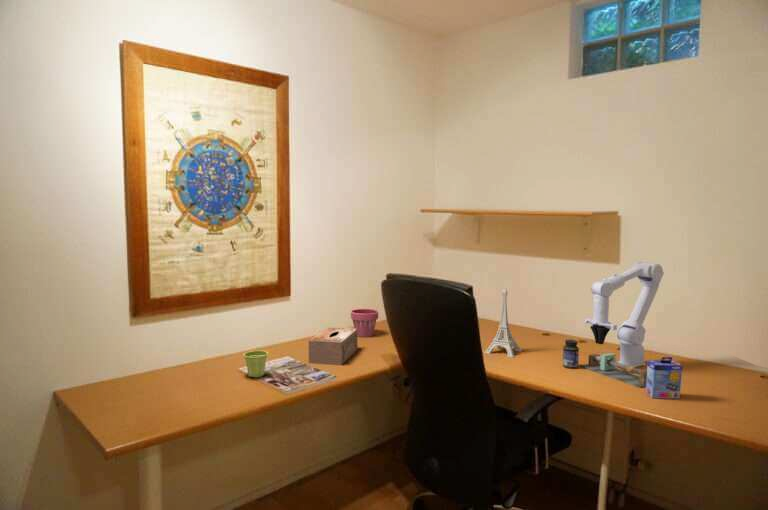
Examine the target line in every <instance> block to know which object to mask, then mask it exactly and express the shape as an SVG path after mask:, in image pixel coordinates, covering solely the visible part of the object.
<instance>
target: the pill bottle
mask: <svg viewBox="0 0 768 510" xmlns="http://www.w3.org/2000/svg"><path fill="white" fill-rule="evenodd" d="M564 343H565V345H564V346H563V347H562V348H563V349H562V350H563V351H562V366H563V367H564V368H567V369H571V370H572V369H575V370H576V369H578V368H579V357H580V356H579V354H580V351H579V349H580V348H579V347H578V341H577V340H575V339H566V340H565V341H564Z"/></svg>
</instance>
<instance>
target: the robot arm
mask: <svg viewBox="0 0 768 510" xmlns="http://www.w3.org/2000/svg"><path fill="white" fill-rule="evenodd" d="M664 272H665V271H664V270H663V267H662V265H661V264H659V263H648V262H643V261H639V262H637V263H634V264H633V266H631V267H630V268H629V269H627V270H625V271H624V272H622V273H620V274H619V273H612V274H611V275H610V276H609V277H607V278H603V279H602V280H601V281H595V282H594V283H592V285H591V287H590V291H591V292H590V293H591V294H592V299H593V313H592V314H593V316H592V318H590V317H585V318H584V323H585V324H590V327H589V328H590V330H591V332H592V334H593V336H594V337H593V338H594V340H595V344H597V345H604V343H605V339H606V337H607V336H608V334H609V332H610V330H612V331H616V337H617V339H618V342H619V343H620V348H619V360H617V361H616V360H615V362H618V363H621V364H625V365H628V366H629V365H630V366H633V367H636V368H638V367H641V366H646V365H647V364H646V363H645V352H646V351H645V347H644V345H643V344H642V343H643V342H644V341H645V334H646V332H647V330H646V328H645V327H644V326H643V324H644V322H645V320H646V317H647V316H648V312H649V310H650V308H651V306H652V304H653V301H654V300H655V299H654V298H655V297H656V294H657V292H658V290H659V286H660V283H661V281H662V279H663V276H664V274H665V273H664ZM635 278H637V279H638V281H639V282H640V283H641V284H642V289H641V291H640V293H639V296H638V298H637V300H636V302H635V304H634V307H633V309H632V311H631V314H630V317H629V318H628V319H627V320H625V321H623V322H622V323H621V325H620V326H619V327H618V325H617V324H615V323H612V322H610V321H609V313H610V311H609V309H610V308H609V307H610V304H609V303H610V297H611V296H612V294H613V293H614V292H615V291H616V290H619V289H620V288H622V287H624V285H625V282H628V281H631V280H632V279H635Z"/></svg>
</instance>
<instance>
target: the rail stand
mask: <svg viewBox="0 0 768 510" xmlns="http://www.w3.org/2000/svg"><path fill="white" fill-rule="evenodd" d="M600 364H601V354H598V353H593V354H592V353H591V354H588V362H587V364H582V365H580V367H581V368H583V369H586V370H590V371H592V372H594V373H597V374H600V375H603V376H606V377H608V378H611V379H614V380H617V381H620V382H623V383H625V384H629V385H631V386H634V387H637V388H640V389H641V388H646V381H647V369H644V370H643V369H641V368H638V367H633V366H630V365H629V366H628V365H625V364H621V363H618V362H616V360H615V361H612V360H609V359H607V365H611V366H614V367H615V369H611V370H605V371H604V370H601V369H600Z"/></svg>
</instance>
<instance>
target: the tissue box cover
mask: <svg viewBox="0 0 768 510" xmlns="http://www.w3.org/2000/svg"><path fill="white" fill-rule="evenodd" d="M357 350H358V336H357V329H354V327H352V328H351V327H335V326H334V327H332V326H331V327H330V326H328V327H326V328H324V329H323V330H322V331H320V332H318V333H317V334H316V335H314V336H313V337H312V338H310V339H309V340H308V363H309V364H314V365H315V364H317V365H330V366H331V365H332V366H342V365H344V363H345V362H346V361H347V360H348V359H349V358H350V357H352V355H353V354H354V353H355V352H356V351H357Z"/></svg>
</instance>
